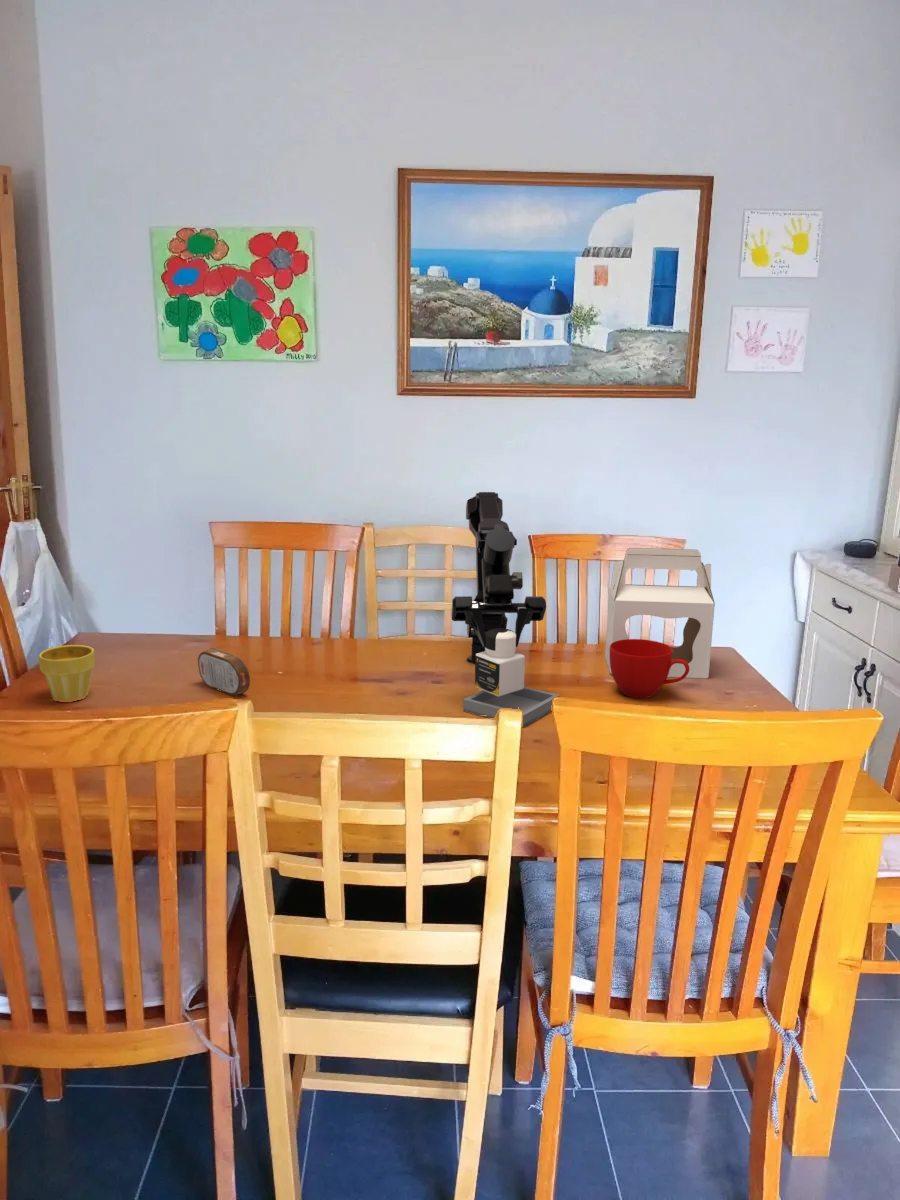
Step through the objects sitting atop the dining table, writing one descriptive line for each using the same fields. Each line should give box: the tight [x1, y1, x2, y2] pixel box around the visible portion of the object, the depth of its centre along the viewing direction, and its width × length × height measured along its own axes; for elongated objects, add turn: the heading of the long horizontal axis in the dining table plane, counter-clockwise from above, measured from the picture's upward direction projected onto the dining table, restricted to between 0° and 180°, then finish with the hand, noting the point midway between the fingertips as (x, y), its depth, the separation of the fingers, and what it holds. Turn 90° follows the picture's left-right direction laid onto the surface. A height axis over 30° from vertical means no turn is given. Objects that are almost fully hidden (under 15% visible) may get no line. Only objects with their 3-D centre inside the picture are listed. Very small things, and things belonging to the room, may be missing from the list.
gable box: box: [605, 547, 716, 680], centre depth 201 cm, size 22×13×28 cm, turn 85°
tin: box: [197, 647, 251, 697], centre depth 185 cm, size 15×3×8 cm, turn 50°
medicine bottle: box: [474, 628, 526, 697], centre depth 175 cm, size 7×7×12 cm
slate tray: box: [462, 686, 561, 728], centre depth 177 cm, size 14×14×2 cm
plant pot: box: [38, 644, 96, 700], centre depth 180 cm, size 10×10×10 cm
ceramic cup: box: [610, 638, 689, 699], centre depth 185 cm, size 13×17×10 cm
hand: (500, 646), depth 174 cm, fingers closed on medicine bottle, 6 cm apart
